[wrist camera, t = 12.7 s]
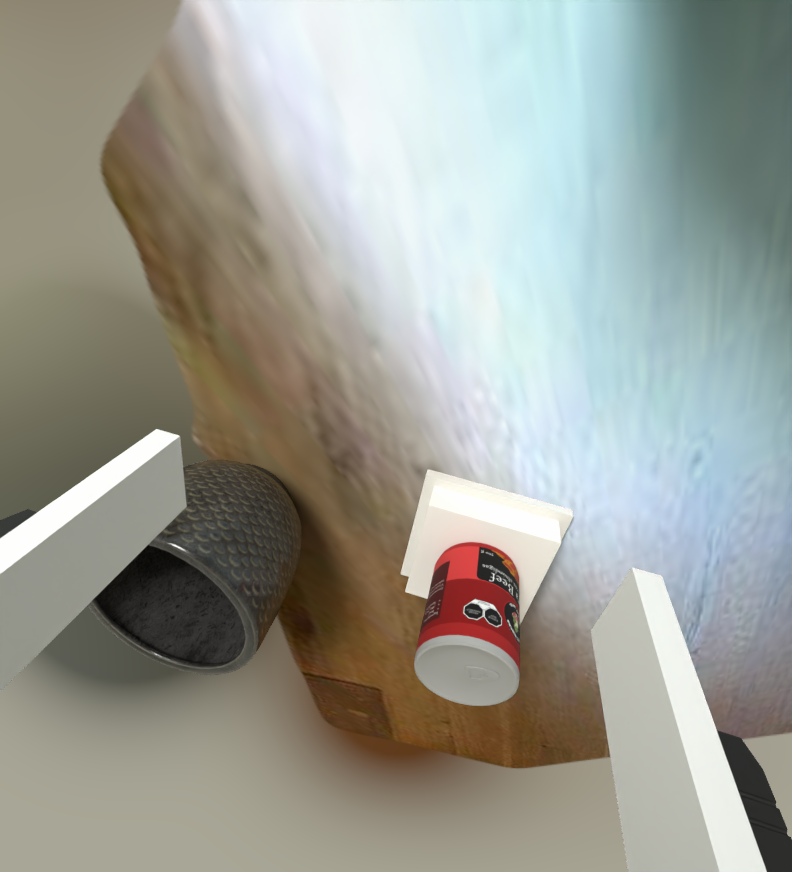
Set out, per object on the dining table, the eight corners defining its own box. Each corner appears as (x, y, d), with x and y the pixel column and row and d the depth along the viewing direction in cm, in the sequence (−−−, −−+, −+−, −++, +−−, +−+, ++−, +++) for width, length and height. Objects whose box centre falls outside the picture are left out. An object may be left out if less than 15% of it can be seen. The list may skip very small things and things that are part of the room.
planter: (347, 472, 47) (277, 593, 33) (306, 574, 56) (238, 701, 42) (195, 402, 47) (64, 495, 33) (179, 515, 56) (71, 623, 43)
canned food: (531, 590, 43) (534, 704, 34) (454, 603, 47) (438, 710, 37) (501, 530, 41) (496, 636, 31) (422, 548, 44) (396, 649, 35)
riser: (427, 469, 44) (420, 493, 41) (572, 509, 43) (577, 538, 39) (402, 567, 51) (394, 595, 48) (524, 605, 50) (525, 636, 47)
